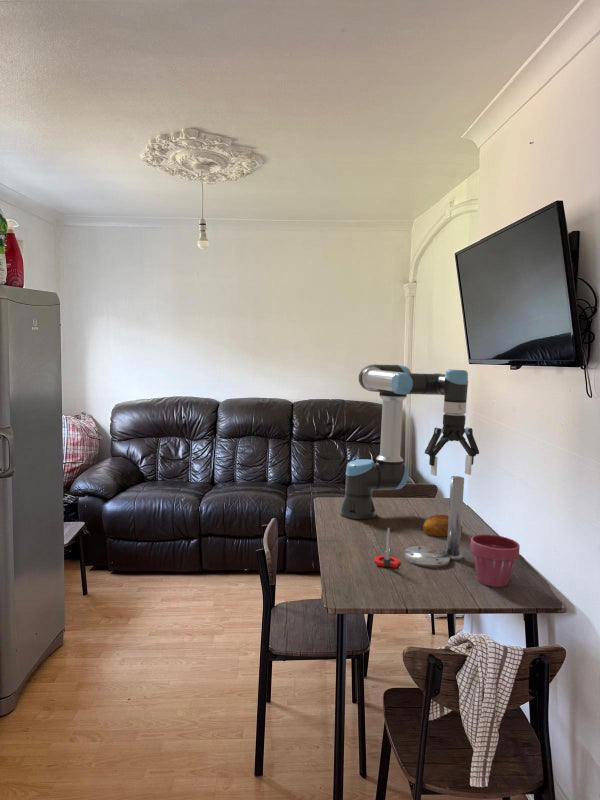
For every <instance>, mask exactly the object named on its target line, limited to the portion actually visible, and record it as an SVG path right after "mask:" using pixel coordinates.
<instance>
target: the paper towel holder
mask: <svg viewBox="0 0 600 800" xmlns="http://www.w3.org/2000/svg"><path fill="white" fill-rule="evenodd" d="M464 485H465V477H464V476H460V475H453V476H451V477H450V486H449V487H450V489H449V505H448V516H449V518H448V535H447V536H446V537H447V538H446V550H443V549H441V548H438V547H434V546H426V545H415V546H414V545H413V546H410V547H407V548H406V549H404V559H405V560H406V562H408V563H410V564H412V565H415V566H418V567H421V568H423V567H424V568H431V569H433V568H436V569H437V568H444V567H447V566H449V564H451V563H450V562H451V561H454V562H455V561H457V562H458V561H462V560H463V553H461V539H462V538H461V536H462V535H461V534H462V533H461V525H462V524H463V523H462V521H463V504H464V503H463V502H464V488H465V486H464Z"/></svg>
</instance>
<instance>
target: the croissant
mask: <svg viewBox="0 0 600 800" xmlns="http://www.w3.org/2000/svg"><path fill="white" fill-rule="evenodd" d="M448 518H449V514H448V515H447V514H436V515H430V516H429V517H427V518H426V519H425V520H424V522H423V525H422V530H423V532H424V533H425V534H426V535H429V536H433V537H435V536H436V537H447V535H448ZM462 533H463V524H461V534H462Z"/></svg>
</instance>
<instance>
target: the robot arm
mask: <svg viewBox="0 0 600 800" xmlns="http://www.w3.org/2000/svg"><path fill="white" fill-rule="evenodd" d="M358 382H359V385H360V386H361V388H362V389H364V390H366V391H369V392H373V393H375V392H376V393H379V396H378V397H380V399H382V409H381V428H380V429H381V431H380V444H379V445H380V449H379V455H377V456H376V459H375V460H376V461H375V462H374V460H372V459H368V458H367V459H356V460H351V461H349V462H348V463H347V464H346V469H345V488H344V489H345V491H344V499H343V501H342V503H341V506H340V509H339V510H340V511H339V514H340V516H342V517H345V518H347V519H352V520H369V519H374V518H375V517H376V515H377V513H376V507H375V504H374V499H373V492H374V491H386V490H387V491H395V490H400V489H402V488H403V487H404V486H406V483H407V481H408V477H409V470H408V466H407V464H406V463H405V462H404V458H403V457H401V443H402V426H403V424H402V423H403V407H404V405H403V403H404V400H406V399H407V397H408V395H426V396H427V395H435V396H436V395H437V396H444V397H443V398H444V399H443V410H442V411H443V413H444V414H443V415H442V428H441V427H440V428H439V427H434V431H433V434H432V436H431V438H430V440H429V441H428V444H427V446H426V448H425V449H424V450H425V451H424V454H425V455H427V456H429V463H428V464H429V466H430V475H432V476H434V477H436V476H437V473H438V459H439V457H438V456H437V455H438V454H439V452H440V451H441V450H442V448H444V446H445V445H446V444H447V443H448V442H459V443H460V445H461V446H462V447H463V449H464V450H465V451H466V453H467V454H465V461H464V462H465V464H464V474H466V475H470V476H471V475H472V466H473V465H474V459H475V458H474V457H476V456H477V455H479V454H480V450H479V447H478V445H477V442H476V440H475V437H474V433H473V432H474V430H473V428H471V427H468V426H467V427H465V426H466V419H467V418H466V415H465V414H467V413H466V412H467V399H468V389H469V388H468V385H469V373H468V371H467V370H466V369H452V368H451V369H447V370H446V371H445V374H443V373H440V372H439V373H435V372H434V373H416V372H415V373H412V372H411V369H410V368H408V366H406V365H402V364H401V365H399V364H370V365H367V366H364V367H363V368H362V369H361V370H360V371H359V374H358ZM464 434H465V436H466V437H464ZM441 435H442V436H441ZM466 439H467V441H466Z"/></svg>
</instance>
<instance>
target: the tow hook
mask: <svg viewBox="0 0 600 800" xmlns="http://www.w3.org/2000/svg"><path fill="white" fill-rule="evenodd" d="M385 543H386V546H385V551H384V555H377V556H375V557H374V558H373V561H374V562H375V564H376V566H377V567H383V568H393V569H396V568H398V565H400V562H401V560H400V559H399V558H398V557H395V556H391V551H390V549H391V527H387V533H386V541H385ZM382 560H383V561H382Z"/></svg>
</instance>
